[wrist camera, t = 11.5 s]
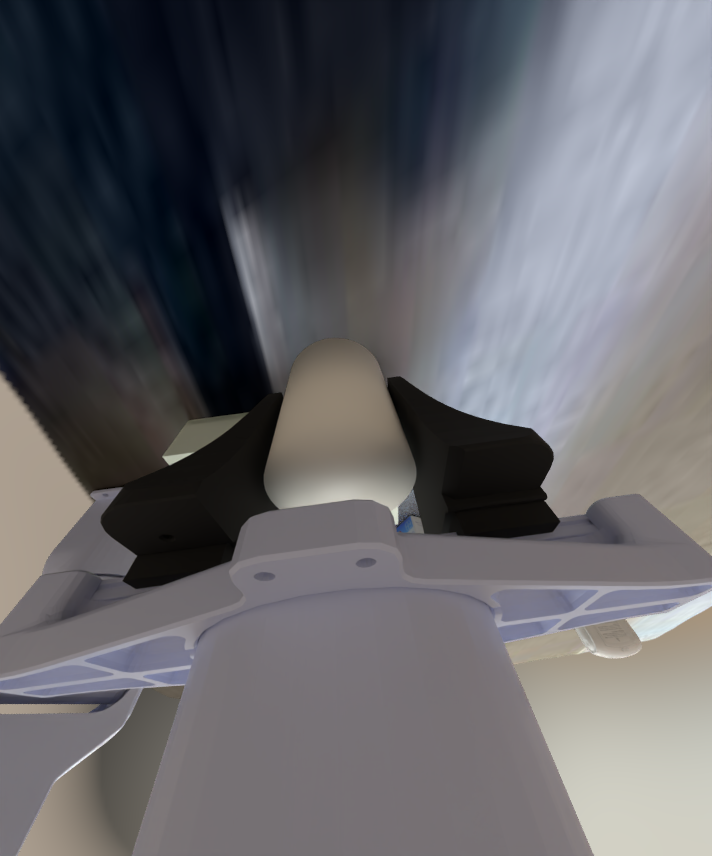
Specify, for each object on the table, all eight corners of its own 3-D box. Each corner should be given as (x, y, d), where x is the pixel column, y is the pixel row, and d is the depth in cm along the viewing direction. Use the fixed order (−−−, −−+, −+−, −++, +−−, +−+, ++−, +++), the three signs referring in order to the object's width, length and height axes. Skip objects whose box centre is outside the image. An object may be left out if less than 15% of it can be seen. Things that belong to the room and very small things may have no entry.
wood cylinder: (302, 425, 16) (287, 533, 10) (277, 345, 12) (238, 438, 7) (383, 414, 16) (413, 516, 10) (379, 331, 12) (420, 413, 7)
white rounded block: (548, 592, 60) (590, 663, 50) (557, 585, 57) (603, 658, 48) (590, 588, 61) (639, 657, 51) (600, 581, 58) (655, 651, 48)
